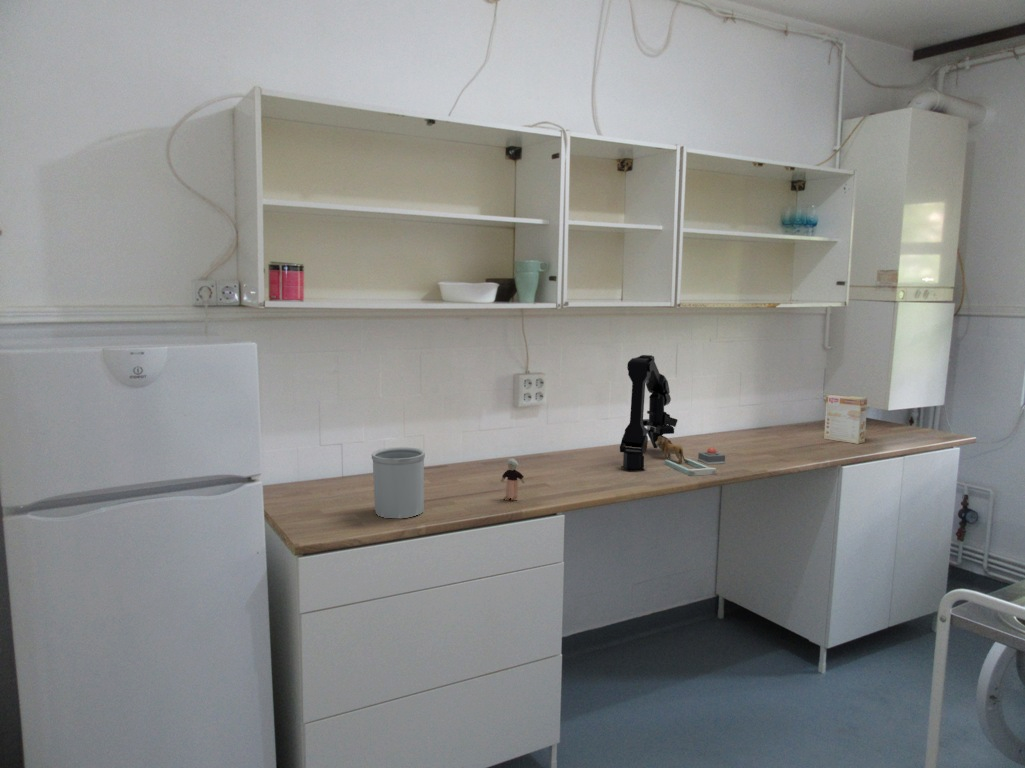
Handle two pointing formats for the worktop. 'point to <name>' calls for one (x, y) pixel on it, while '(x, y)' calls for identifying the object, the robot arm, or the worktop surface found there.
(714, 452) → the dome plunger
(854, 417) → the coffeecake box
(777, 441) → the worktop surface
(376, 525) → the worktop surface
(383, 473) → the utensil holder
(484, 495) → the worktop surface
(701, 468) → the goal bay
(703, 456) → the button housing
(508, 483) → the grandmother figurine
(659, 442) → the lion figurine
